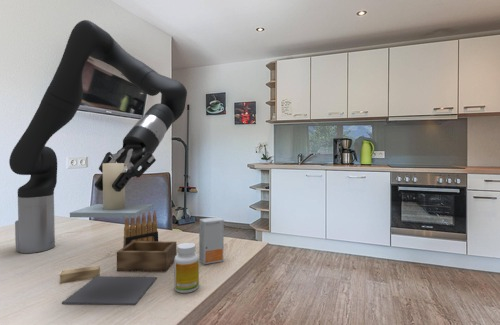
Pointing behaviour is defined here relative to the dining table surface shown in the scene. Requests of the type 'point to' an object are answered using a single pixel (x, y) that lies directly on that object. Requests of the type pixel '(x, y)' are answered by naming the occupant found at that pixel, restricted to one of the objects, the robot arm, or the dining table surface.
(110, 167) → the lid
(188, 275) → the supplement bottle
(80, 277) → the wooden block
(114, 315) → the dining table surface
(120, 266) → the wooden box
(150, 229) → the ammunition clip
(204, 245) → the skincare box
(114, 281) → the mat
